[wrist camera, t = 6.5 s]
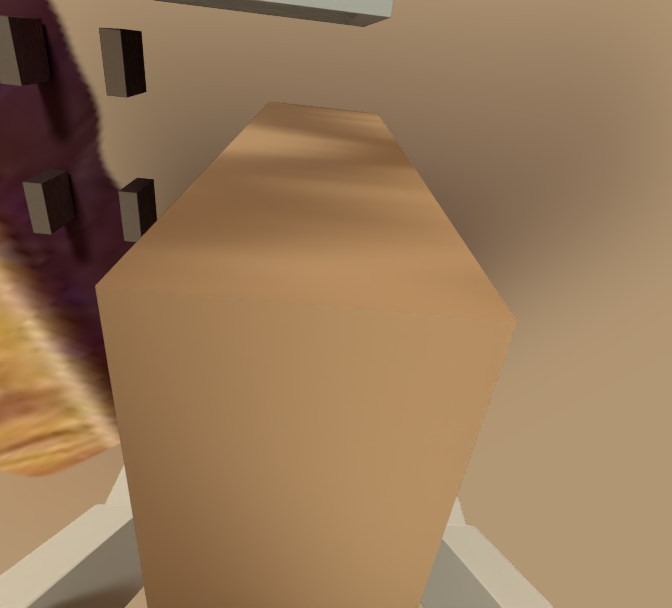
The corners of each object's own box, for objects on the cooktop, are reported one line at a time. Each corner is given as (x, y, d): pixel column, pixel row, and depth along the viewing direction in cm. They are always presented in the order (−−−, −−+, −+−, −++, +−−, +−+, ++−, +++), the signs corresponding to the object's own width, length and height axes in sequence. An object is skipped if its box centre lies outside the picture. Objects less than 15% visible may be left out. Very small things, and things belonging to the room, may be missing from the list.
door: (377, 113, 13) (517, 323, 3) (333, 430, 19) (338, 835, 9) (232, 97, 13) (-58, 272, 3) (233, 424, 19) (131, 833, 9)
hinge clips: (141, 31, 25) (119, 30, 23) (157, 225, 31) (141, 242, 28) (21, 16, 25) (-15, 13, 22) (58, 216, 30) (33, 232, 28)
